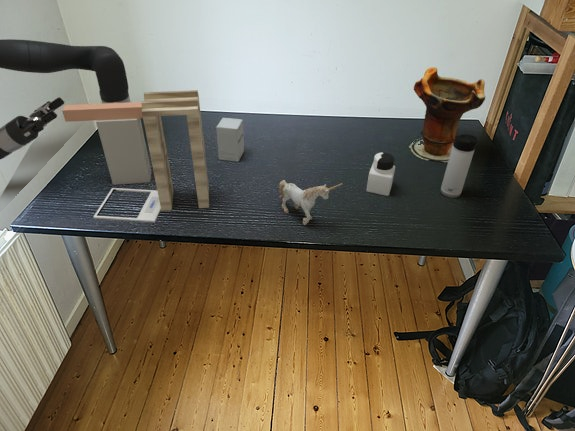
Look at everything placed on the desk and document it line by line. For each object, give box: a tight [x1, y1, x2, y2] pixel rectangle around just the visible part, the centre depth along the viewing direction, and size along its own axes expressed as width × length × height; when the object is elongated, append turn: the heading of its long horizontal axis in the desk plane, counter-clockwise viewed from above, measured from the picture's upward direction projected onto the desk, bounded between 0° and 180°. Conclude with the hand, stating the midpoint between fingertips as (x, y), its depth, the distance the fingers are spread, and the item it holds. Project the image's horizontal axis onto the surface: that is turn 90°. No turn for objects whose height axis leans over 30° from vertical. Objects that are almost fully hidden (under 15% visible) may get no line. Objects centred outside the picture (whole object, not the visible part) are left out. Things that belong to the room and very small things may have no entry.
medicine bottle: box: [365, 151, 396, 197], centre depth 143 cm, size 7×7×12 cm
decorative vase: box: [408, 67, 486, 163], centre depth 158 cm, size 21×23×28 cm
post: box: [95, 118, 152, 185], centre depth 142 cm, size 6×12×22 cm, turn 98°
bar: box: [61, 101, 143, 123], centre depth 134 cm, size 4×24×4 cm, turn 98°
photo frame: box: [93, 187, 161, 223], centre depth 138 cm, size 15×1×18 cm
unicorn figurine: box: [278, 179, 343, 226], centre depth 131 cm, size 7×20×13 cm, turn 62°
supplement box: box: [215, 117, 245, 163], centre depth 157 cm, size 7×7×13 cm
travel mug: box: [440, 133, 478, 199], centre depth 140 cm, size 6×7×20 cm
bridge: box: [140, 89, 210, 212], centre depth 130 cm, size 10×14×34 cm
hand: (58, 106), depth 131 cm, fingers open, 8 cm apart
